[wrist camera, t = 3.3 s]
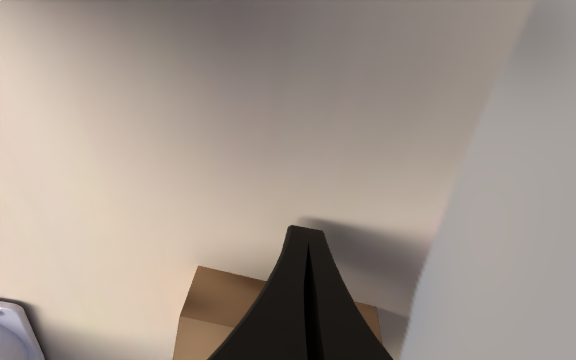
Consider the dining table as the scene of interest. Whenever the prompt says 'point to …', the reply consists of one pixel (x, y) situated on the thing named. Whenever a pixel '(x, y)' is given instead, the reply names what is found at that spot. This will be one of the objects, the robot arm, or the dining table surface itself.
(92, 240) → the dining table surface
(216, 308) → the walnut block
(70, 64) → the dining table surface
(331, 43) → the dining table surface
